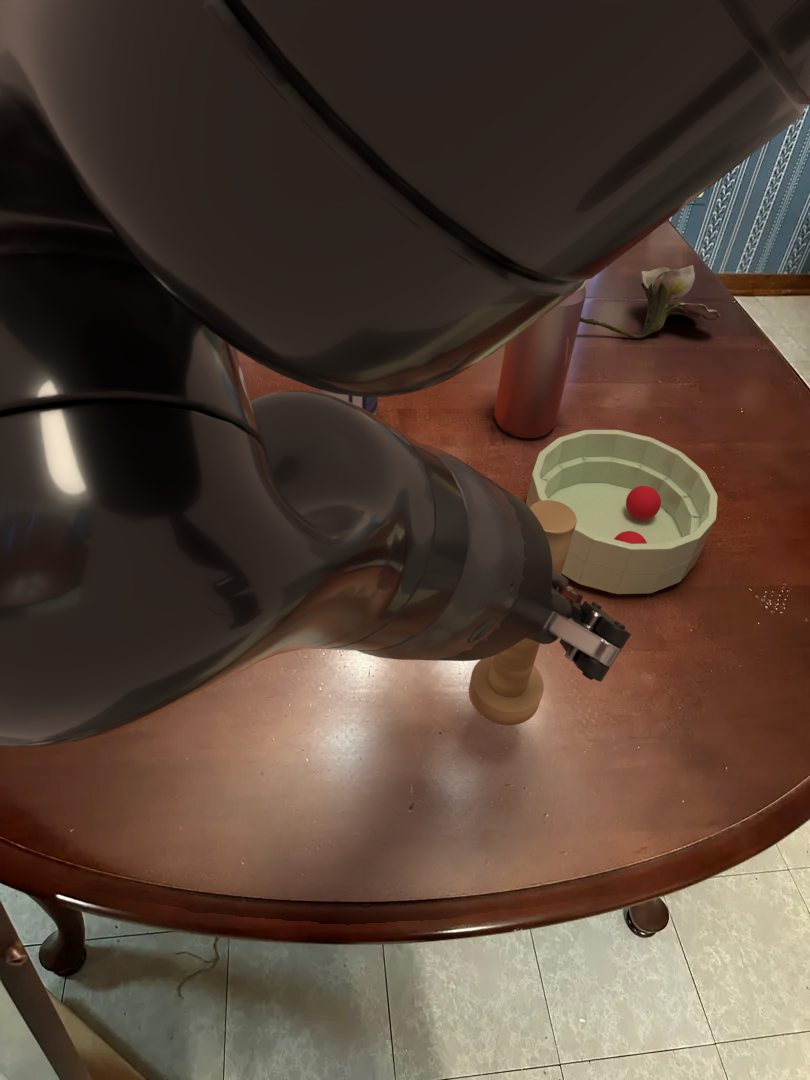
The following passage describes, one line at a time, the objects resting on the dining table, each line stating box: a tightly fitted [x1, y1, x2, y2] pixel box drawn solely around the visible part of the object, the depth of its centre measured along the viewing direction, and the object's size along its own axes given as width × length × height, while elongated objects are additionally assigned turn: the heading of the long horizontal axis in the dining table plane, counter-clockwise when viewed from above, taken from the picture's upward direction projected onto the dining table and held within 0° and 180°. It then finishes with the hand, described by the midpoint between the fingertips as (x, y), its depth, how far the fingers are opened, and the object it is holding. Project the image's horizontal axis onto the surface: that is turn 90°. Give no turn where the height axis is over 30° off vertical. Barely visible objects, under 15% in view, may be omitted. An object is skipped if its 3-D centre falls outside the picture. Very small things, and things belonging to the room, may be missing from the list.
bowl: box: [525, 429, 719, 595], centre depth 63 cm, size 14×14×6 cm
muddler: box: [468, 500, 577, 726], centre depth 43 cm, size 4×4×15 cm
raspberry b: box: [626, 486, 661, 520], centre depth 65 cm, size 3×3×3 cm
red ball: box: [614, 531, 647, 544], centre depth 61 cm, size 3×3×3 cm
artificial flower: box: [579, 264, 721, 340], centre depth 87 cm, size 9×22×10 cm, turn 97°
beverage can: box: [493, 280, 587, 440], centre depth 71 cm, size 6×6×15 cm
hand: (545, 595), depth 44 cm, fingers closed on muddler, 2 cm apart
